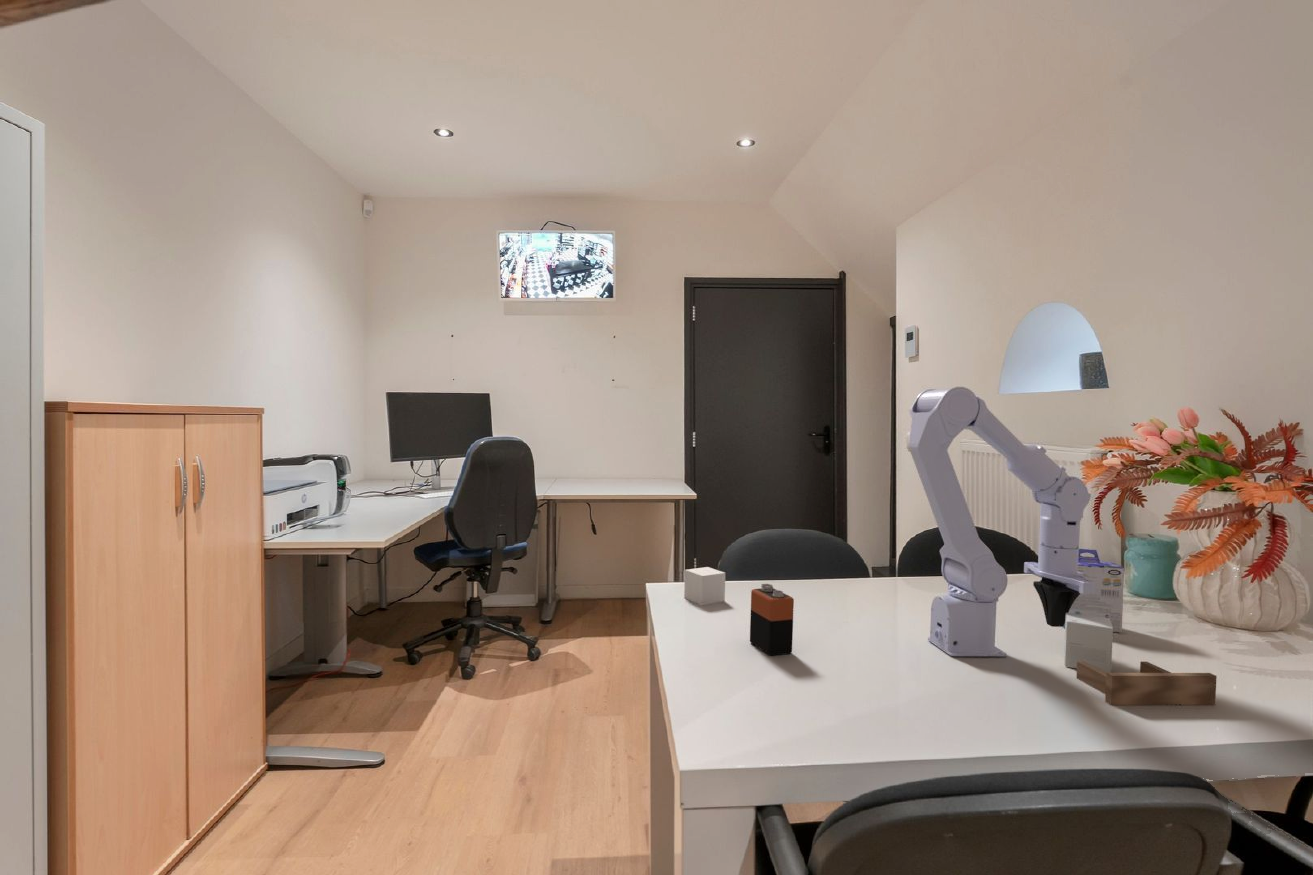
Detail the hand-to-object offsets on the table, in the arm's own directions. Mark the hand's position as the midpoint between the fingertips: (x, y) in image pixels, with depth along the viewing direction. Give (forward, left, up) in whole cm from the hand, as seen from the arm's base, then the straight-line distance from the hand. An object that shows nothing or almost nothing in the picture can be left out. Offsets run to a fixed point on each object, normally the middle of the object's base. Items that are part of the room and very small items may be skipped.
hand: (1055, 625), depth 107 cm
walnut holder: (0, -16, -4) cm, 17 cm away
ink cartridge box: (+15, +12, -4) cm, 19 cm away
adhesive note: (-56, +28, -4) cm, 63 cm away
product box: (0, -7, -4) cm, 8 cm away
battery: (-49, 0, -4) cm, 49 cm away
